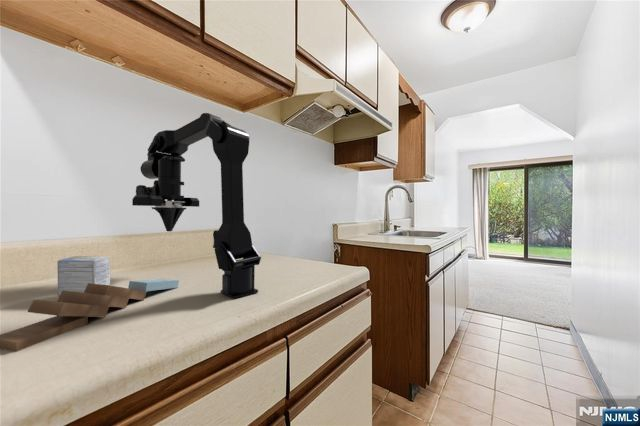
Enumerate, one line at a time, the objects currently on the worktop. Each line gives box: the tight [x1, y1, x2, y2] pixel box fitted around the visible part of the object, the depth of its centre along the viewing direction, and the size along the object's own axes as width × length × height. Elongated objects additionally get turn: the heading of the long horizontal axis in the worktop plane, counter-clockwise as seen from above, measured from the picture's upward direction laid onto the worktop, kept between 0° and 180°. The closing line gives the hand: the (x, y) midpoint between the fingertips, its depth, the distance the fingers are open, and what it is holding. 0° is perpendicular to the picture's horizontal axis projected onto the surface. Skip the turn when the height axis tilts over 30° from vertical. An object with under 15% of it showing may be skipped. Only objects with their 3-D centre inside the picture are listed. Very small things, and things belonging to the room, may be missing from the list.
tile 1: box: [127, 278, 180, 292], centre depth 62 cm, size 2×5×9 cm
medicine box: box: [56, 255, 111, 300], centre depth 57 cm, size 8×4×9 cm, turn 92°
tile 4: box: [27, 299, 110, 318], centre depth 43 cm, size 2×5×9 cm
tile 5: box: [0, 315, 89, 352], centre depth 41 cm, size 2×5×9 cm
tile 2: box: [84, 283, 148, 301], centre depth 53 cm, size 2×5×9 cm
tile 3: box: [57, 290, 129, 309], centre depth 48 cm, size 2×5×9 cm
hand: (169, 231), depth 76 cm, fingers closed
